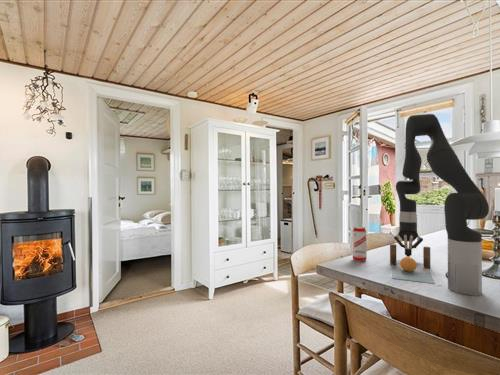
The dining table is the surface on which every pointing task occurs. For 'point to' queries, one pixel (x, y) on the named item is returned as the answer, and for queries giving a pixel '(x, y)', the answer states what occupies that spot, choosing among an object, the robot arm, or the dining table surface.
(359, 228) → the beer can
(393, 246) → the left post
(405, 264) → the ball
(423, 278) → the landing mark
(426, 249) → the right post
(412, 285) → the dining table surface
